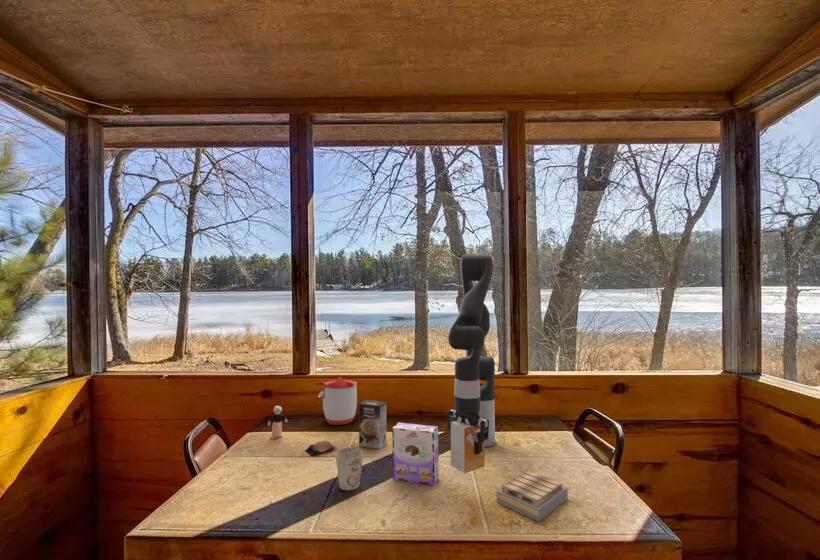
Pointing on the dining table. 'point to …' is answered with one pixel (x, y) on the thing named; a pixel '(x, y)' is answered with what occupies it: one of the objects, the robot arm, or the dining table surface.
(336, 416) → the citrus juicer
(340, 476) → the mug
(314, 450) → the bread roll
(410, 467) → the candy box
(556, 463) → the dining table surface
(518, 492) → the pallet
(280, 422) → the grandmother figurine
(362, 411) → the coffee box
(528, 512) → the rack
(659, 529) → the dining table surface
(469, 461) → the small box
